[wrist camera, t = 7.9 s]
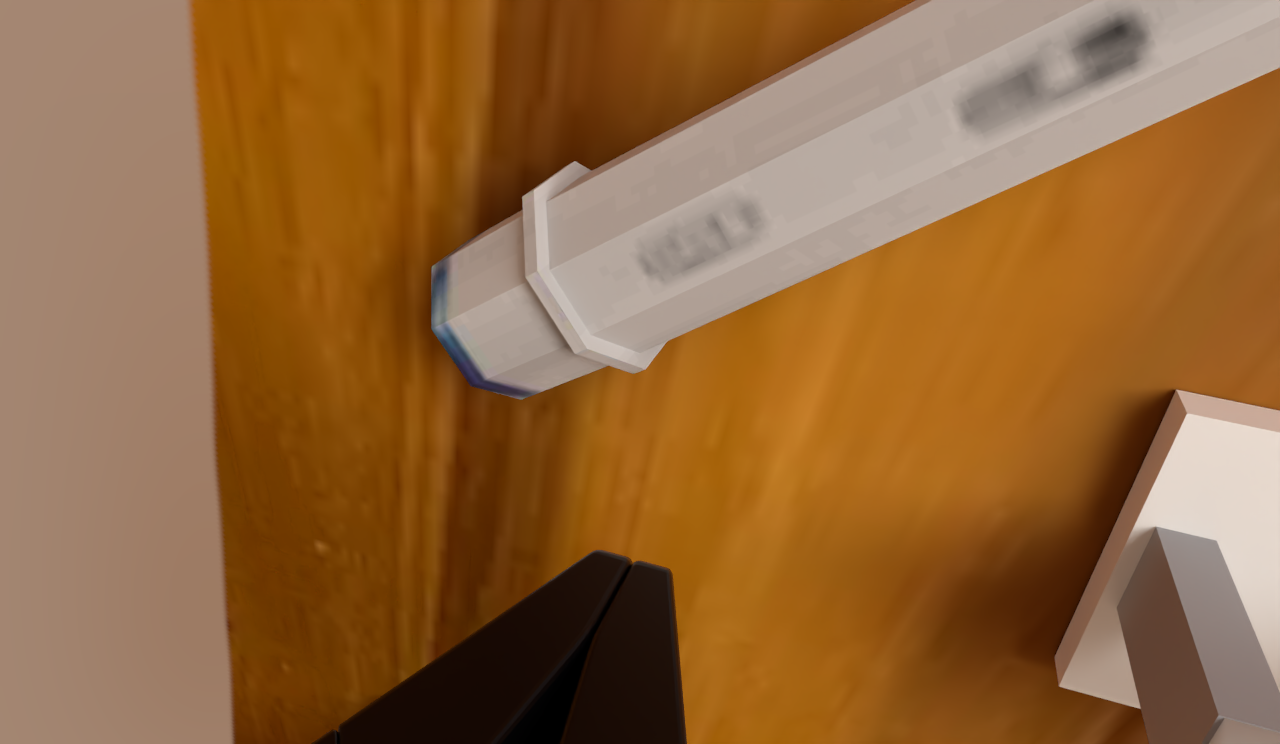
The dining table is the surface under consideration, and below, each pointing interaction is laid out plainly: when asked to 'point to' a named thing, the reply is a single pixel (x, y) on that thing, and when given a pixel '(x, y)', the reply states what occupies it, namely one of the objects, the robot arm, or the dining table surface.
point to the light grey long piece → (823, 171)
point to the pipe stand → (1191, 583)
